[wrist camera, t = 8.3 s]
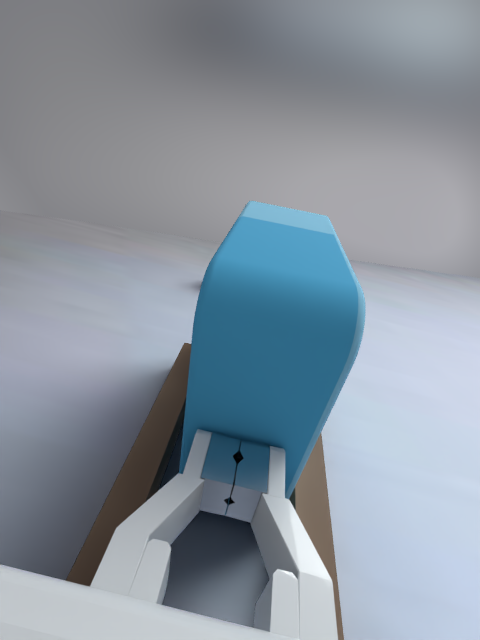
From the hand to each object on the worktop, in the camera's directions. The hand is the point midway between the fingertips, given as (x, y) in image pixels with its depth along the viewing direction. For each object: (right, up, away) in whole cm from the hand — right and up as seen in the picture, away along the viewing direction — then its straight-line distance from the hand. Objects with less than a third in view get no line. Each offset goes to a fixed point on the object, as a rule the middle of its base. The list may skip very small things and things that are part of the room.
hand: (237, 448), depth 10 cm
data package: (0, -2, +8) cm, 9 cm away
